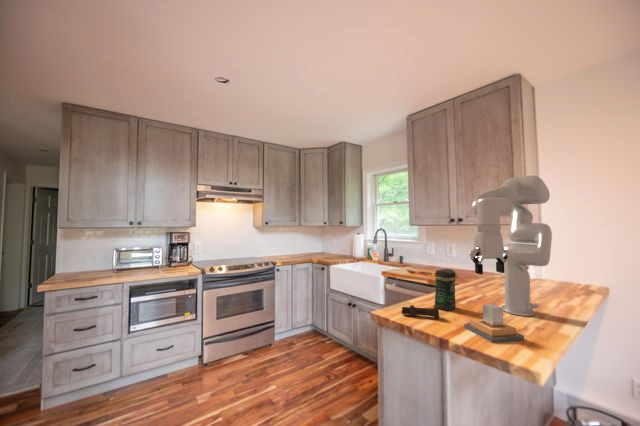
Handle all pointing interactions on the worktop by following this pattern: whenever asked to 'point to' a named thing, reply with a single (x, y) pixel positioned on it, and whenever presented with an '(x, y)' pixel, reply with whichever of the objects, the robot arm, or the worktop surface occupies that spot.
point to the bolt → (421, 311)
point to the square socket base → (494, 331)
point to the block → (492, 315)
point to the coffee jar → (445, 289)
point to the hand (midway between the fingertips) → (489, 273)
